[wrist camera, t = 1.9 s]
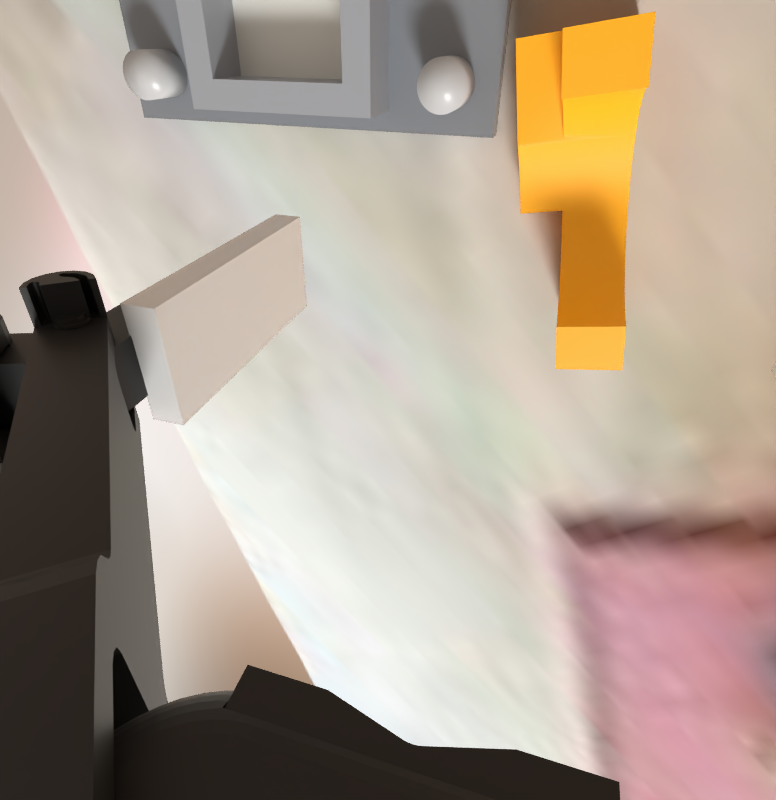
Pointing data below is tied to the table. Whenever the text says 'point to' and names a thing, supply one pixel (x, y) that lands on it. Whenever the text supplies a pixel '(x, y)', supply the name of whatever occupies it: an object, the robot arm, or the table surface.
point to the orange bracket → (584, 169)
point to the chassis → (321, 62)
